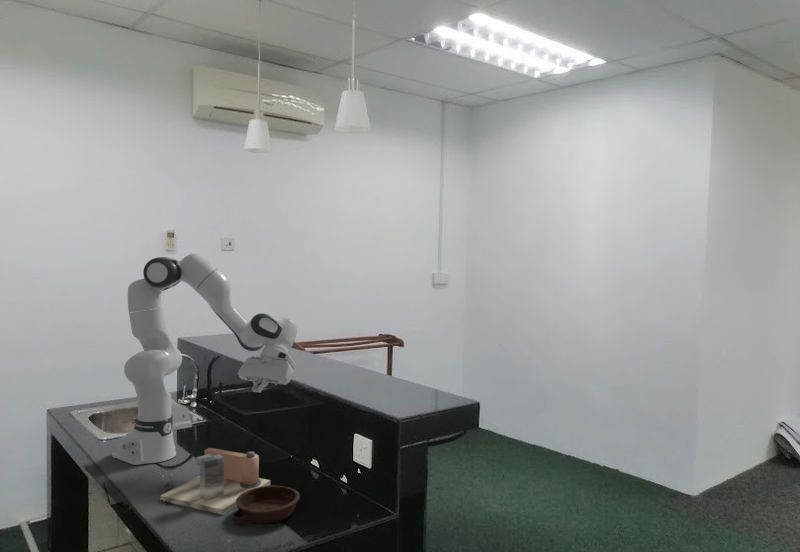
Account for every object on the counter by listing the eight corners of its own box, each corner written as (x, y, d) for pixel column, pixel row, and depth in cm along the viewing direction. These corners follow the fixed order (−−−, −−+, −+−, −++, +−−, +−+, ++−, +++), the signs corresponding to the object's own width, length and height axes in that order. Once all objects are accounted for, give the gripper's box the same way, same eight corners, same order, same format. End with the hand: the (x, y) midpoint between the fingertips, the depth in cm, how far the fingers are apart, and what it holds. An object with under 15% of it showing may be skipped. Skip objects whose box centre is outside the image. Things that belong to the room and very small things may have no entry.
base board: (160, 500, 174) (160, 494, 174) (212, 473, 195) (212, 467, 195) (222, 514, 165) (222, 508, 165) (270, 484, 186) (270, 479, 186)
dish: (317, 510, 169) (318, 493, 169) (254, 538, 153) (254, 519, 152) (279, 493, 181) (279, 477, 180) (216, 518, 164) (216, 500, 163)
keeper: (215, 489, 179) (215, 452, 178) (223, 494, 175) (223, 456, 175) (196, 495, 174) (196, 457, 174) (204, 500, 171) (204, 461, 170)
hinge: (151, 433, 235) (148, 408, 237) (148, 434, 239) (146, 410, 241) (193, 426, 245) (190, 402, 247) (189, 427, 249) (187, 404, 251)
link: (261, 480, 185) (262, 451, 184) (252, 486, 180) (252, 456, 180) (212, 470, 192) (212, 442, 192) (201, 475, 187) (201, 447, 187)
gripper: (244, 351, 213) (227, 383, 205) (292, 355, 205) (277, 389, 197) (252, 361, 217) (235, 393, 209) (299, 365, 210) (284, 399, 201)
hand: (256, 391), depth 203 cm, fingers closed
